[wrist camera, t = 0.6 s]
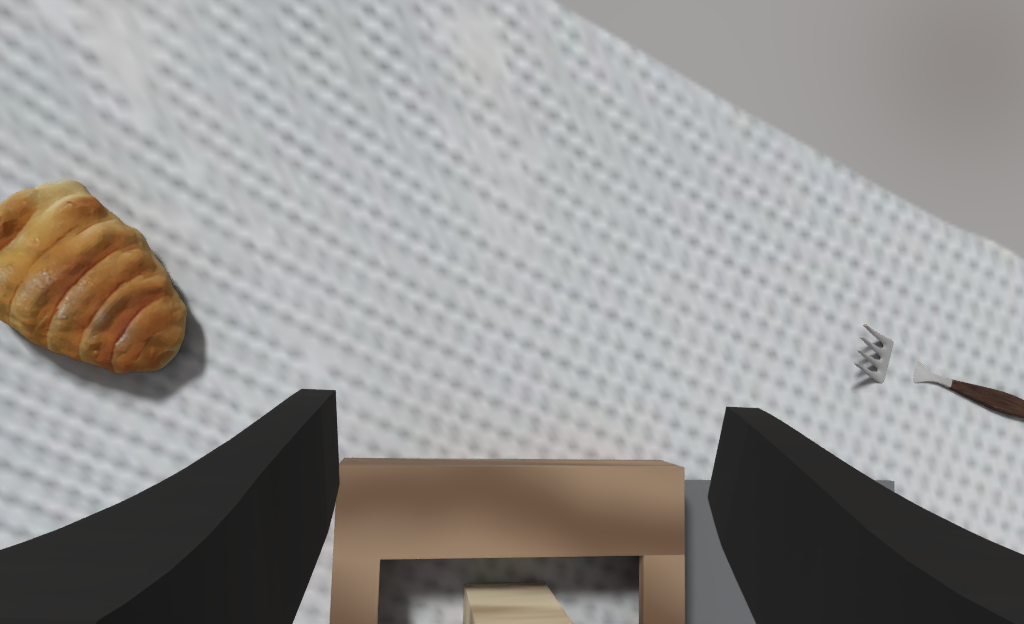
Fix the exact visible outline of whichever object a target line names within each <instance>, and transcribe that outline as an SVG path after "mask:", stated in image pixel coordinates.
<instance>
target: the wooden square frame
mask: <svg viewBox="0 0 1024 624" xmlns="http://www.w3.org/2000/svg"><path fill="white" fill-rule="evenodd" d="M339 477H340V485H339V490H338V494H337V498H336V508H335V528H334V548H333V568H332V588H331V608H330V624H378V603H379V580H380V559H445V558H511V557H576V556H639V624H685V507H684V467H681V466H677V465H674V464H671V463H668V462H665V461H662V460H544V459H397V458H344V459H343V460H342V461H341V462H340V464H339Z"/></svg>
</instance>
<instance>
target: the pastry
mask: <svg viewBox="0 0 1024 624" xmlns="http://www.w3.org/2000/svg"><path fill="white" fill-rule="evenodd" d="M186 318H187V308H186V305H185V304H184V303H183V301H182V300H181V298H180V297H179V295H178V293H177V291H176V290H175V289H174V288H173V286H172V283H171V280H170V276H169V273H168V272H167V271H166V270H165V268H164V267H163V265H162V264H161V263H160V262H159V261H158V260H157V258H156V256H155V254H154V253H153V252H152V251H151V249H150V247H149V245H148V243H147V241H146V239H145V237H144V236H143V235H142V234H141V232H140V231H138V230H137V229H135V228H132V227H130V226H128V225H126V224H124V223H123V222H122V221H121V220H120V219H119V218H118V217H117V216H116V215H115V214H113V213H112V212H110V211H109V210H108V209H107V208H105V207H104V206H103V205H102V204H101V203H100V202H99V201H98V200H97V199H96V198H95V197H93V196H92V195H91V194H90V193H89V191H88V190H87V189H86V187H85V186H84V185H83V184H81V183H79V182H77V181H73V180H61V181H58V182H55V183H44V184H42V185H39V186H37V187H36V188H34V189H25V190H22V191H19V192H17V193H15V194H13V195H11V196H10V197H8V198H7V199H6V200H5V201H3V202H1V203H0V320H1V321H3V322H4V323H6V324H8V325H9V326H11V327H12V328H14V329H16V330H17V331H19V332H20V333H21V334H22V335H23V336H24V337H26V338H27V339H28V340H29V341H30V342H32V343H33V344H35V345H38V346H43V347H45V348H46V349H48V350H50V351H52V352H54V353H58V354H61V355H65V356H69V357H71V358H72V359H74V360H78V361H82V362H86V363H90V364H92V365H96V366H100V367H103V368H105V369H108V370H110V371H112V372H114V373H117V374H120V373H128V372H149V371H157V370H160V369H162V368H163V367H164V366H166V365H167V364H168V363H169V362H170V361H171V360H172V359H173V358H174V357H175V356H176V354H177V353H178V351H179V349H180V347H181V344H182V341H183V339H184V337H185V326H186Z"/></svg>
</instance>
